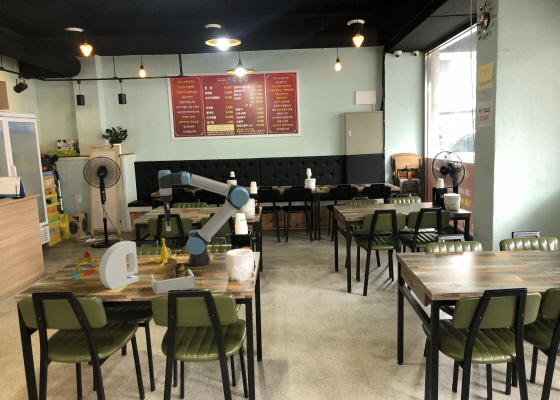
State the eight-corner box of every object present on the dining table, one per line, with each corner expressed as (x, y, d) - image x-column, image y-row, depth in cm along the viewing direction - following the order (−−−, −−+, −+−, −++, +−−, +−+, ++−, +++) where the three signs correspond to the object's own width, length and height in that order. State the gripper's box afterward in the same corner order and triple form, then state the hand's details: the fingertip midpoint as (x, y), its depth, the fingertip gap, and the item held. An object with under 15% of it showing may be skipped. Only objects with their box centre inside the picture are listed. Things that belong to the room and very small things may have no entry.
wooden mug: (164, 287, 245) (162, 257, 242) (176, 279, 258) (174, 250, 255) (178, 288, 242) (176, 257, 240) (189, 280, 255) (187, 251, 253)
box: (190, 280, 256) (189, 269, 255) (195, 287, 242) (194, 276, 241) (151, 286, 247) (150, 274, 246) (154, 294, 233) (153, 282, 232)
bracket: (139, 281, 258) (135, 240, 255) (107, 291, 242) (103, 248, 239) (132, 279, 263) (129, 239, 259) (100, 288, 246) (96, 246, 243)
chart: (106, 266, 295) (104, 244, 293) (110, 266, 294) (108, 245, 292) (71, 279, 267) (68, 256, 264) (75, 280, 265) (72, 257, 263)
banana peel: (176, 257, 308) (175, 235, 306) (169, 265, 289) (167, 241, 287) (154, 258, 308) (152, 236, 306) (145, 266, 290) (143, 242, 287)
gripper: (158, 194, 275) (161, 229, 278) (161, 196, 263) (164, 233, 266) (170, 193, 278) (173, 228, 281) (173, 195, 266) (176, 232, 269)
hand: (168, 230), depth 274 cm, fingers closed
